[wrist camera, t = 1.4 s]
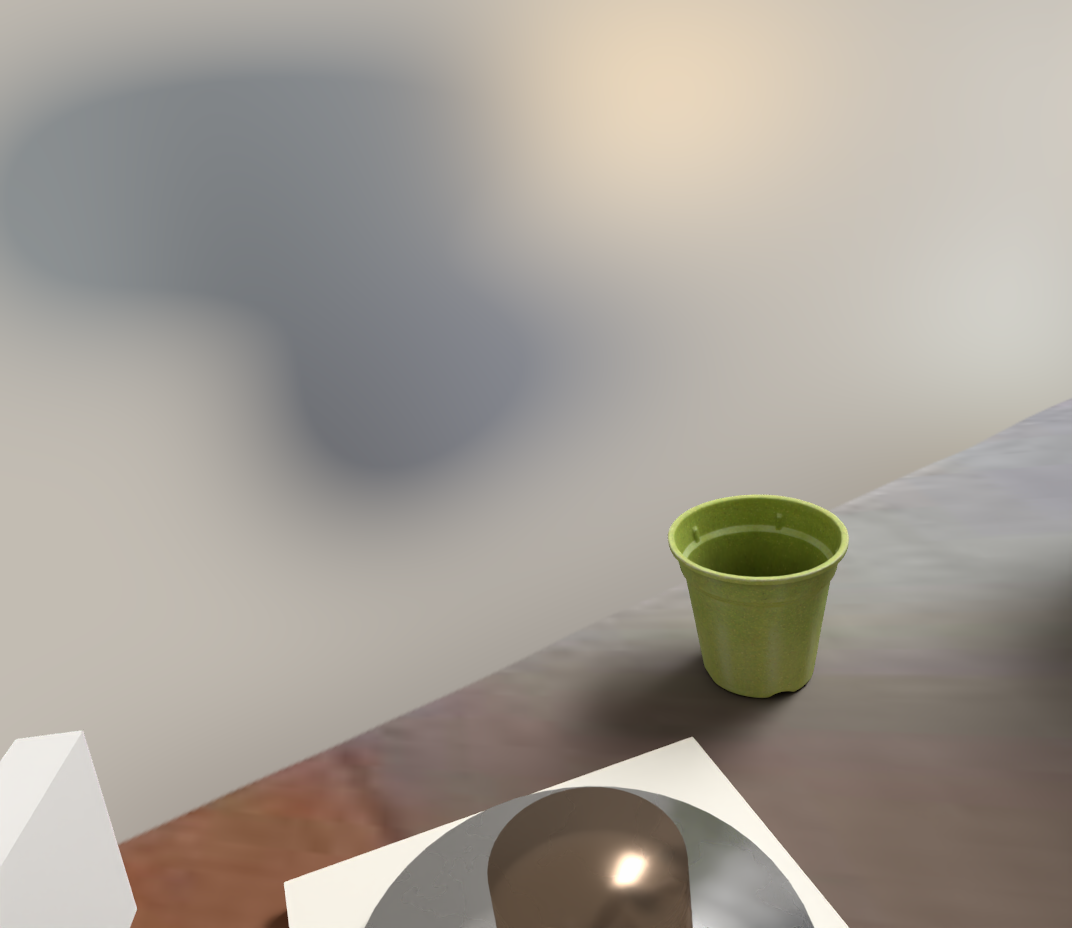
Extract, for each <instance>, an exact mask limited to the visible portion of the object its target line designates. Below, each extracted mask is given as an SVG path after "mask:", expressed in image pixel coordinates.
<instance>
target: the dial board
mask: <svg viewBox="0 0 1072 928" xmlns="http://www.w3.org/2000/svg"><path fill="white" fill-rule="evenodd" d="M583 786H607V787H621V788H629V789H638V790H642V791H647V792H651V793H656V794H661V795H664V796H667V797H670V798H673V799H676V800H679V801H682V802H685V803H688V804H690V805H692V806H695V807H697V808H699V809H701V810H704V811H706V812H708V813H710V814H712V815H713V816H715V817H717V818H719V819H720V820H722V821H724V822H725V823H727V824H729V825H730V826H732V827H733V828H735V829H736V830H737V831H739V832H740V833H741V834H743V835H744V836H745V837H747V838H748V839H749V840H751V841H752V842H753V843H754V844H755V845H756V846H757V847H759V848H760V849H761V850H762V851H763V852H764V853H765V854H766V855H767V856H768V857H769V858H770V859H771V860H772V861H773V862H774V863H775V865H776V866H777V867H778V868H779V869H780V871H781V872H782V873H783V874H784V876H785V877H786V878H787V879H788V880H789V882H790V883H791V885H792V887H793V888H794V890H795V891H796V893H797V895H798V896H799V898H800V899H801V901H802V903H803V904H804V906H805V908H806V911H807V913H808V915H809V917H810V919H811V921H812V924H813V926H814V928H849V927H848V926H847V925H846V923H845V922H844V921H843V920H842V919H841V917H840V916H839V915H838V914H837V912H836V911H835V910H834V909H833V908H832V906H831V905H830V904H829V903H828V901H827V900H826V899H825V898H824V897H823V895H822V894H821V893H820V892H819V890H818V889H817V888H816V887H815V886H814V884H813V883H812V882H811V881H810V879H809V878H808V877H807V876H806V875H805V873H804V872H803V871H802V870H801V868H800V867H799V866H798V865H797V864H796V862H795V861H794V860H793V859H792V857H791V856H790V855H789V854H788V853H787V851H786V850H785V849H784V848H783V846H782V845H781V844H780V843H779V842H778V840H777V839H776V838H775V837H774V835H773V834H772V833H771V832H770V831H769V829H768V828H767V827H766V826H765V824H764V823H763V822H762V821H761V820H760V818H759V817H758V816H757V815H756V813H755V812H754V811H753V810H752V809H751V807H750V806H749V805H748V804H747V802H746V801H745V800H744V799H743V798H742V796H741V795H740V794H739V793H738V791H737V790H736V789H735V788H734V787H733V785H732V784H731V783H730V782H729V780H728V779H727V778H726V777H725V776H724V774H723V773H722V772H721V771H720V769H719V768H718V767H717V766H716V765H715V763H714V762H713V761H712V760H711V758H710V757H709V756H708V755H707V754H706V752H705V751H704V750H703V749H702V747H701V746H700V745H699V744H698V743H697V741H696V740H695V739H694V738H693V737H690V738H687V739H684V740H681V741H679V742H676V743H673V744H670V745H667V746H665V747H662V748H659V749H656V750H653V751H651V752H648V753H645V754H642V755H639V756H637V757H634V758H631V759H628V760H625V761H623V762H620V763H617V764H614V765H611V766H609V767H606V768H603V769H600V770H597V771H595V772H592V773H589V774H586V775H583V776H581V777H578V778H575V779H572V780H569V781H567V782H564V783H561V784H558V785H555V786H553V787H550V788H547V789H544V790H541V791H538V792H543V791H549V790H555V789H561V788H570V787H583ZM538 792H536V793H538ZM533 794H534V793H533ZM482 812H483V811H482ZM480 813H481V812H480ZM477 814H479V813H477ZM477 814H474V815H471V816H468V817H466V818H463V819H460V820H457V821H454V822H452V823H449V824H446V825H443V826H440V827H438V828H435V829H432V830H429V831H426V832H424V833H421V834H418V835H415V836H412V837H410V838H407V839H404V840H401V841H398V842H396V843H393V844H390V845H387V846H384V847H382V848H379V849H376V850H373V851H370V852H368V853H365V854H362V855H359V856H356V857H354V858H351V859H348V860H345V861H342V862H340V863H337V864H334V865H331V866H328V867H326V868H323V869H320V870H317V871H314V872H312V873H309V874H306V875H303V876H300V877H298V878H295V879H292V880H289V881H286V882H284V887H285V895H286V904H287V913H288V921H289V928H365V926H366V924H367V922H368V920H369V918H370V916H371V914H372V912H373V910H374V909H375V907H376V906H377V904H378V903H379V901H380V900H381V898H382V897H383V895H384V894H385V892H386V891H387V889H388V888H389V887H390V885H391V884H392V883H393V882H394V881H395V879H396V878H397V877H398V876H399V875H400V874H401V872H402V871H403V870H404V869H405V868H406V867H407V865H409V864H410V863H411V862H412V861H413V860H414V859H415V858H416V857H417V856H418V855H419V854H420V853H421V852H422V851H423V850H424V849H426V848H427V847H428V846H429V845H431V844H432V843H433V842H435V841H436V840H437V839H438V838H440V837H441V836H442V835H444V834H445V833H446V832H448V831H449V830H451V829H453V828H454V827H456V826H458V825H459V824H461V823H462V822H464V821H466V820H467V819H469V818H471V817H473V816H475V815H477Z"/></svg>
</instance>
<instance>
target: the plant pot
mask: <svg viewBox="0 0 1072 928" xmlns="http://www.w3.org/2000/svg"><path fill="white" fill-rule="evenodd" d="M668 542H669V547H670V550H671V552H672V553H673V555H674V557H675V558H676V559H677V560H678V561H679V564H680V568H681V571H682V573H683V575H684V577H685V578H686V580H687V585H688V589H689V594H690V599H691V604H692V608H693V613H694V618H695V623H696V628H697V633H698V638H699V642H700V647H701V652H702V657H703V662H704V666H705V668H706V670H707V671H708V673H709V674H710V676H711V677H712V679H713V680H714V682H715V683H716V684H718V685H719V686H721V687H722V688H724V689H726V690H728V691H730V692H733V693H736V694H739V695H743V696H748V697H757V698H767V697H770V696H772V695H774V694H776V693H779V692H784V691H792V692H794V691H796V690H798V689H800V688H801V687H803V686H804V685H805V684H806V683H807V682H808V681H809V680H810V678H811V676H812V674H813V670H814V665H815V660H816V655H817V650H818V643H819V637H820V632H821V626H822V621H823V616H824V610H825V605H826V600H827V595H828V590H829V585H830V580H831V579H832V578H833V576H834V574H835V572H836V569H837V565H838V563H839V562H840V561H841V560H842V558H843V557H844V555H845V554H846V551H847V548H848V542H849V536H848V532H847V529H846V527H845V525H844V524H843V523H842V522H841V521H840V520H839V519H838V518H837V517H836V516H835V515H834V514H832V513H831V512H829V511H828V510H825V509H824V508H822V507H819V506H817V505H814V504H812V503H809V502H805V501H802V500H799V499H795V498H789V497H784V496H775V495H740V496H733V497H726V498H721V499H716V500H713V501H709V502H706V503H703V504H701V505H698V506H696V507H694V508H691V509H689V510H688V511H686V512H685V513H683V514H681V515H680V516H679V517H678V518H677V519H676V520H675V521H674V523H673V524H672V525H671V527H670V529H669V532H668Z"/></svg>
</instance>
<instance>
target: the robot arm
mask: <svg viewBox="0 0 1072 928" xmlns="http://www.w3.org/2000/svg"><path fill="white" fill-rule="evenodd" d="M136 911H137V907H136V904H135V900H134V897H133V894H132V891H131V887H130V884H129V881H128V877H127V874H126V871H125V867H124V864H123V861H122V858H121V854H120V851H119V848H118V844H117V841H116V838H115V834H114V831H113V828H112V824H111V821H110V818H109V815H108V811H107V808H106V805H105V801H104V798H103V795H102V791H101V788H100V785H99V782H98V778H97V775H96V772H95V769H94V765H93V762H92V758H91V755H90V752H89V748H88V745H87V742H86V739H85V735H84V732H83V730H82V731H74V732H66V733H59V734H51V735H43V736H36V737H28V738H21V739H16V740H15V741H14V743H13V745H12V746H11V747H10V748H9V750H8V751H7V753H6V754H5V755H4V757H3V758H2V760H1V761H0V928H130V926H131V923H132V921H133V918H134V916H135V913H136Z"/></svg>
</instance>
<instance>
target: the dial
mask: <svg viewBox="0 0 1072 928" xmlns="http://www.w3.org/2000/svg"><path fill="white" fill-rule="evenodd" d="M365 928H814V926H813V924H812V921H811V919H810V917H809V915H808V913H807V911H806V908H805V906H804V904H803V903H802V901H801V899H800V898H799V896H798V895H797V893H796V891H795V890H794V888H793V887H792V885H791V883H790V882H789V880H788V879H787V878H786V877H785V876H784V874H783V873H782V872H781V871H780V869H779V868H778V867H777V866H776V865H775V863H774V862H773V861H772V860H771V859H770V858H769V857H768V856H767V855H766V854H765V853H764V852H763V851H762V850H761V849H760V848H759V847H757V846H756V845H755V844H754V843H753V842H752V841H751V840H749V839H748V838H747V837H745V836H744V835H743V834H741V833H740V832H739V831H737V830H736V829H735V828H733V827H732V826H730V825H729V824H727V823H725V822H724V821H722V820H720V819H719V818H717V817H715V816H713V815H712V814H710V813H708V812H706V811H704V810H701V809H699V808H697V807H695V806H692V805H690V804H688V803H685V802H682V801H679V800H676V799H673V798H670V797H667V796H664V795H661V794H656V793H651V792H647V791H642V790H638V789H629V788H621V787H607V786H583V787H570V788H561V789H555V790H549V791H543V792H538V793H534V794H530V795H527V796H523V797H519V798H516V799H513V800H510V801H507V802H505V803H502V804H499V805H497V806H494V807H491V808H489V809H487V810H485V811H483V812H481V813H479V814H477V815H475V816H473V817H471V818H469V819H467V820H466V821H464V822H462V823H461V824H459V825H458V826H456V827H454V828H453V829H451V830H449V831H448V832H446V833H445V834H444V835H442V836H441V837H440V838H438V839H437V840H436V841H435V842H433V843H432V844H431V845H429V846H428V847H427V848H426V849H424V850H423V851H422V852H421V853H420V854H419V855H418V856H417V857H416V858H415V859H414V860H413V861H412V862H411V863H410V864H409V865H407V867H406V868H405V869H404V870H403V871H402V872H401V874H400V875H399V876H398V877H397V878H396V879H395V881H394V882H393V883H392V884H391V885H390V887H389V888H388V889H387V891H386V892H385V894H384V895H383V897H382V898H381V900H380V901H379V903H378V904H377V906H376V907H375V909H374V910H373V912H372V914H371V916H370V918H369V920H368V922H367V924H366V926H365Z"/></svg>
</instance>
